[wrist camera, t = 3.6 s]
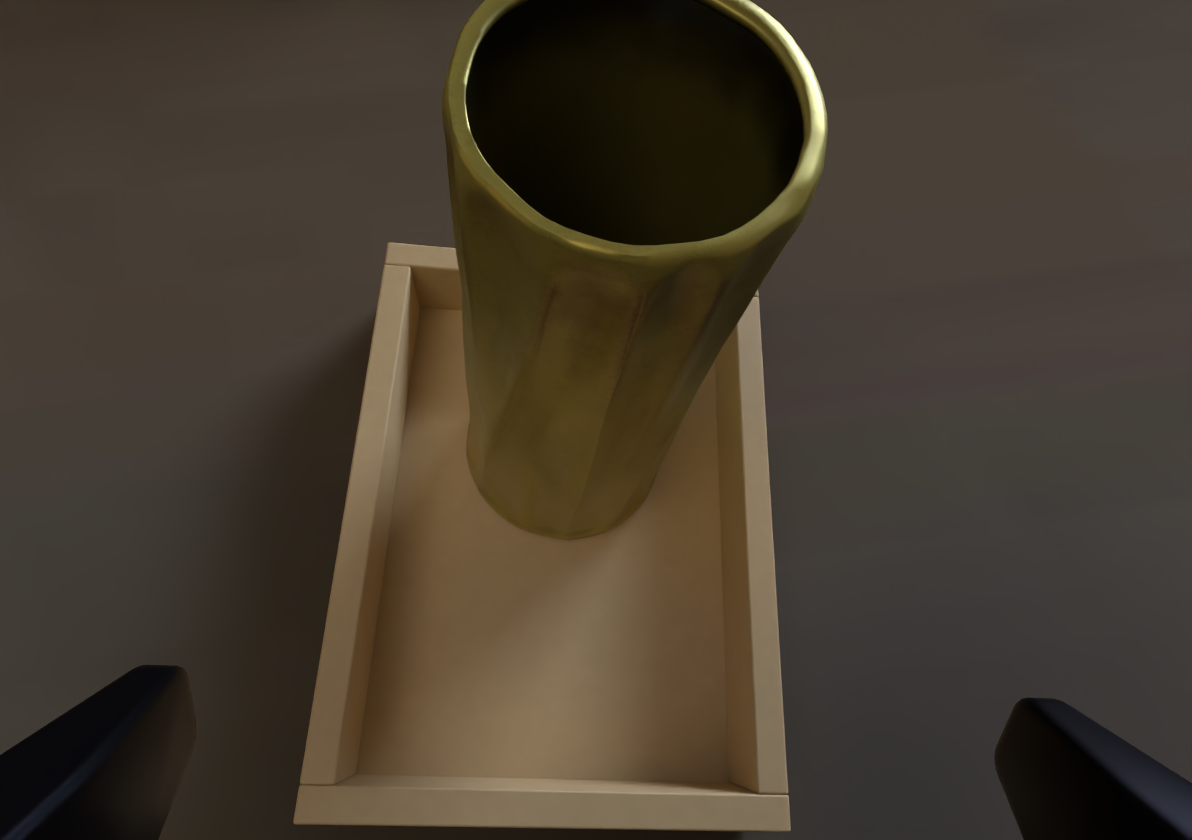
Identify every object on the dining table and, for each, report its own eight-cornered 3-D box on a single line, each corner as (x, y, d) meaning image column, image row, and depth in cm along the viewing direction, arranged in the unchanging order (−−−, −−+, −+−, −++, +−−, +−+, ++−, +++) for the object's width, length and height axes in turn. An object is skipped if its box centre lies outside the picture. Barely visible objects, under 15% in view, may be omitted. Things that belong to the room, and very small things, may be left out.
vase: (478, 555, 21) (428, 320, 8) (455, 368, 23) (384, -68, 10) (676, 524, 22) (928, 269, 9) (637, 348, 24) (794, -72, 11)
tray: (753, 813, 20) (791, 833, 17) (323, 805, 19) (292, 824, 16) (731, 319, 25) (758, 275, 23) (401, 291, 24) (387, 241, 22)
